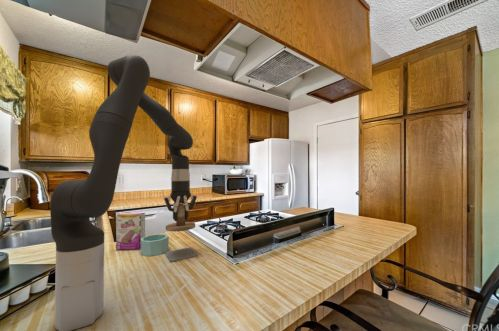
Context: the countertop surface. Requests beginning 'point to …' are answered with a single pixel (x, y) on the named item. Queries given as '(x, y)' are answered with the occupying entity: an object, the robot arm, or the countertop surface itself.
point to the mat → (180, 254)
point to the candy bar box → (130, 230)
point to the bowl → (154, 244)
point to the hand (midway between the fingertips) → (180, 219)
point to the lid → (180, 222)
